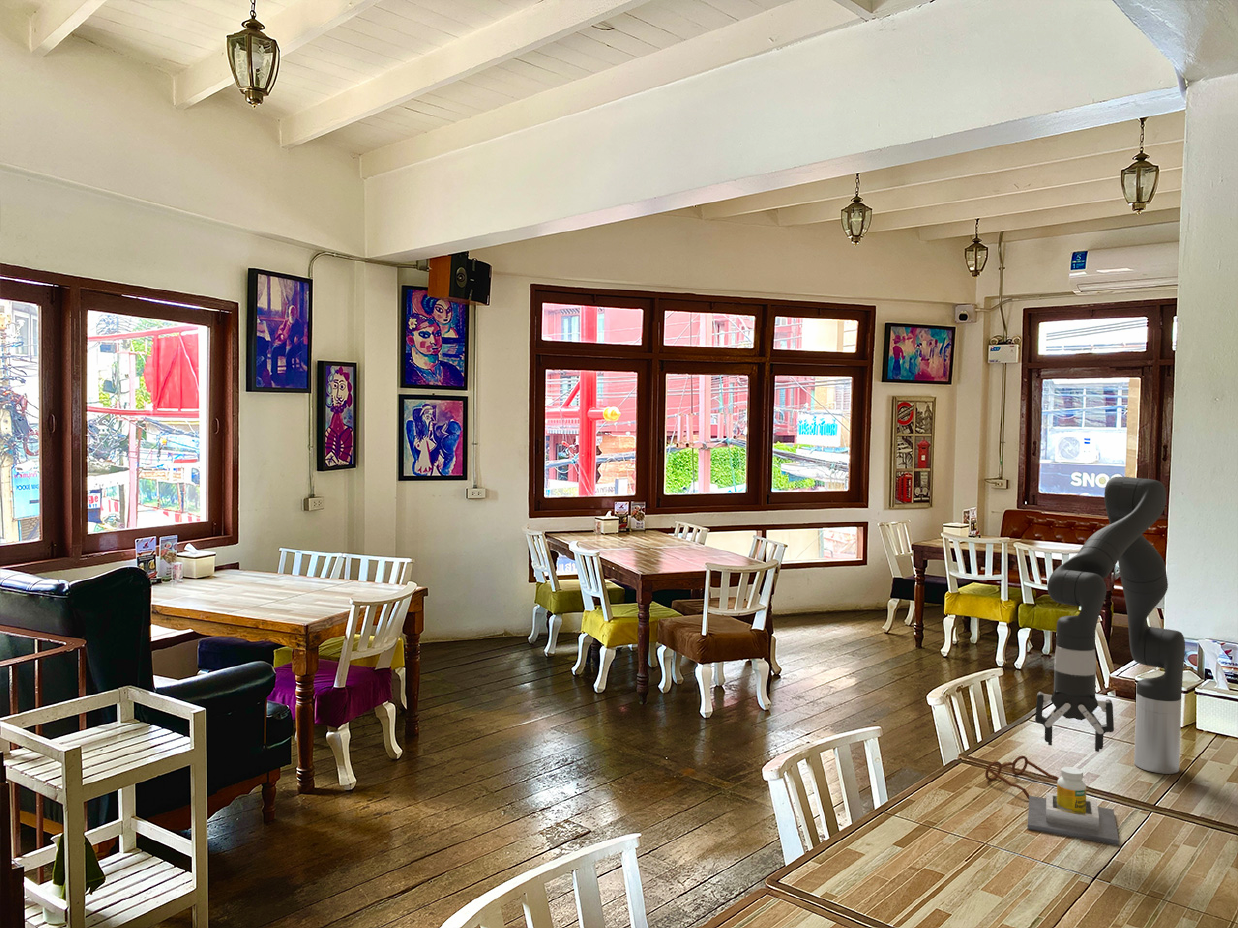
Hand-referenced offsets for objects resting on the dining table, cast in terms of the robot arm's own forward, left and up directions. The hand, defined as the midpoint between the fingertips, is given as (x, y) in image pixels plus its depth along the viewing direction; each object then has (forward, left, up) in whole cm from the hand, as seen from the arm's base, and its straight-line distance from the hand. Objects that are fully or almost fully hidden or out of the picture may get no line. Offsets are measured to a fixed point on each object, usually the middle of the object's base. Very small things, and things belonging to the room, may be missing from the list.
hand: (1073, 747), depth 184 cm
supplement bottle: (0, 0, -15) cm, 15 cm away
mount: (0, 0, -15) cm, 15 cm away
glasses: (-16, -8, -16) cm, 24 cm away
